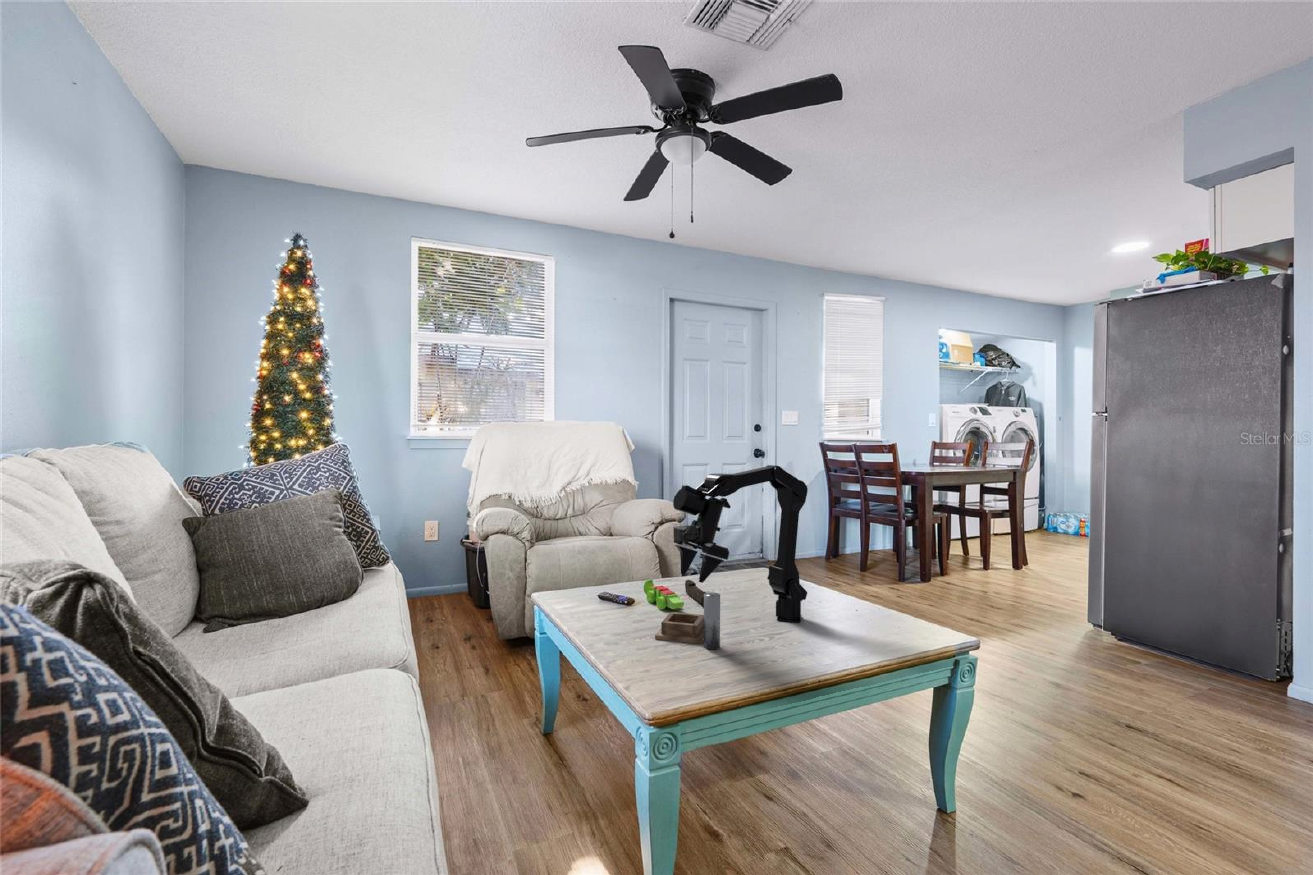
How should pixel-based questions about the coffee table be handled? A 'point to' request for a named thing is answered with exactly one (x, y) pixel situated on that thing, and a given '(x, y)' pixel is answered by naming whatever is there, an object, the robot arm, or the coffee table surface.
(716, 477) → the robot arm
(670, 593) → the toy crocodile
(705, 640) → the steel pin
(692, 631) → the walnut box
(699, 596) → the hand tool
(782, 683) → the coffee table surface
